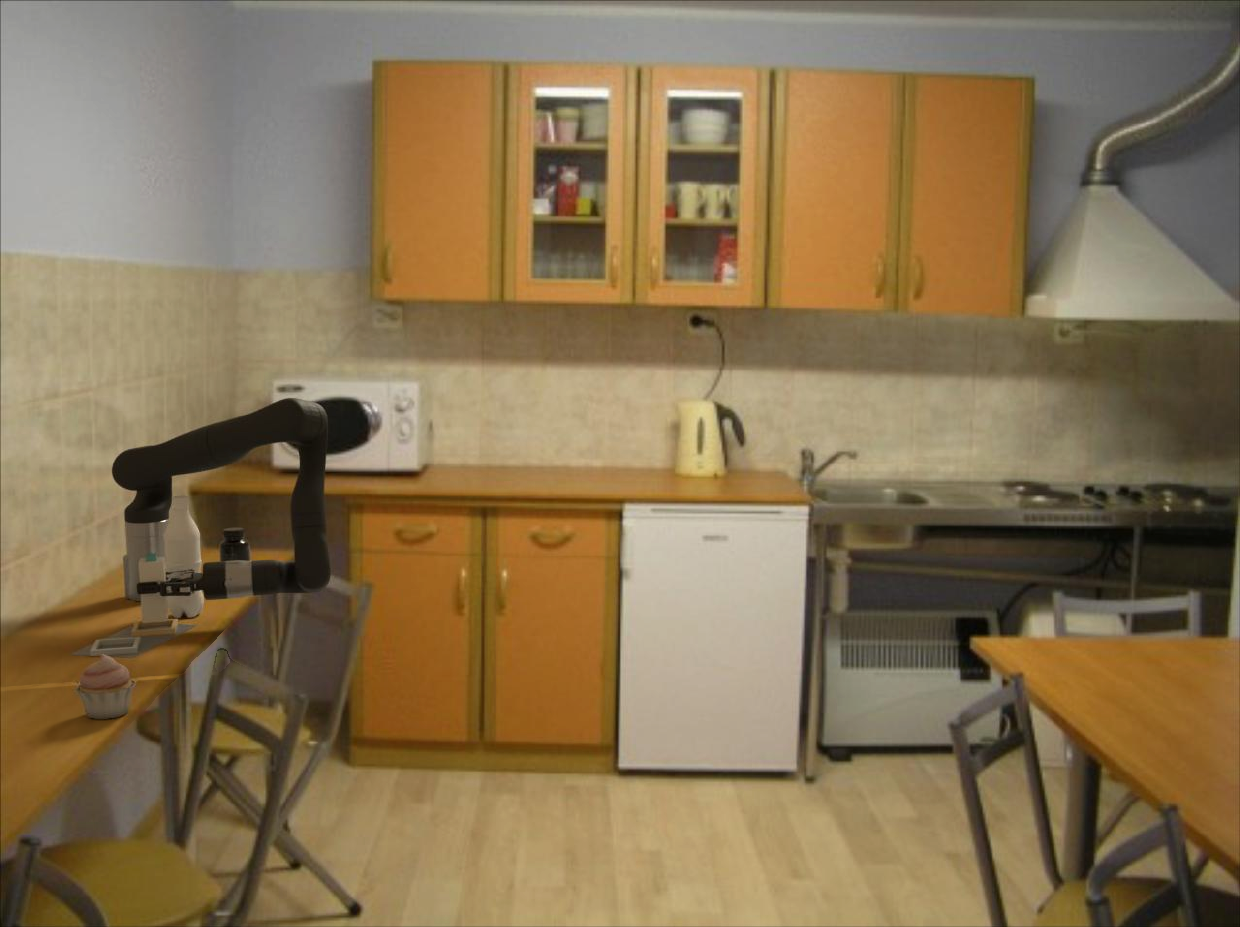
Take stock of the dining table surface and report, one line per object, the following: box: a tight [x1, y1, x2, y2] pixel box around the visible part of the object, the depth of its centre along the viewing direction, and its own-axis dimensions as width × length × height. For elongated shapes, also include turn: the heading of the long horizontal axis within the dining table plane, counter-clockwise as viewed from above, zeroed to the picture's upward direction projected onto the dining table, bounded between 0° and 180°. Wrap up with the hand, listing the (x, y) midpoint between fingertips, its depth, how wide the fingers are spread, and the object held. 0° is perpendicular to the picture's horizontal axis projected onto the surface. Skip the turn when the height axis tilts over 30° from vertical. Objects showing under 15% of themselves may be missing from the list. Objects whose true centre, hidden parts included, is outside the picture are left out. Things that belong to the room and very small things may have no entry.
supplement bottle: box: [218, 527, 251, 562], centre depth 320 cm, size 7×7×12 cm
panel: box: [69, 618, 198, 659], centre depth 267 cm, size 13×25×2 cm, turn 169°
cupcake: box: [74, 654, 137, 720], centre depth 223 cm, size 9×9×10 cm
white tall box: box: [139, 553, 169, 623], centre depth 273 cm, size 4×4×13 cm
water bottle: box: [164, 495, 205, 619], centre depth 286 cm, size 7×7×25 cm
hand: (138, 585), depth 272 cm, fingers closed on white tall box, 4 cm apart
